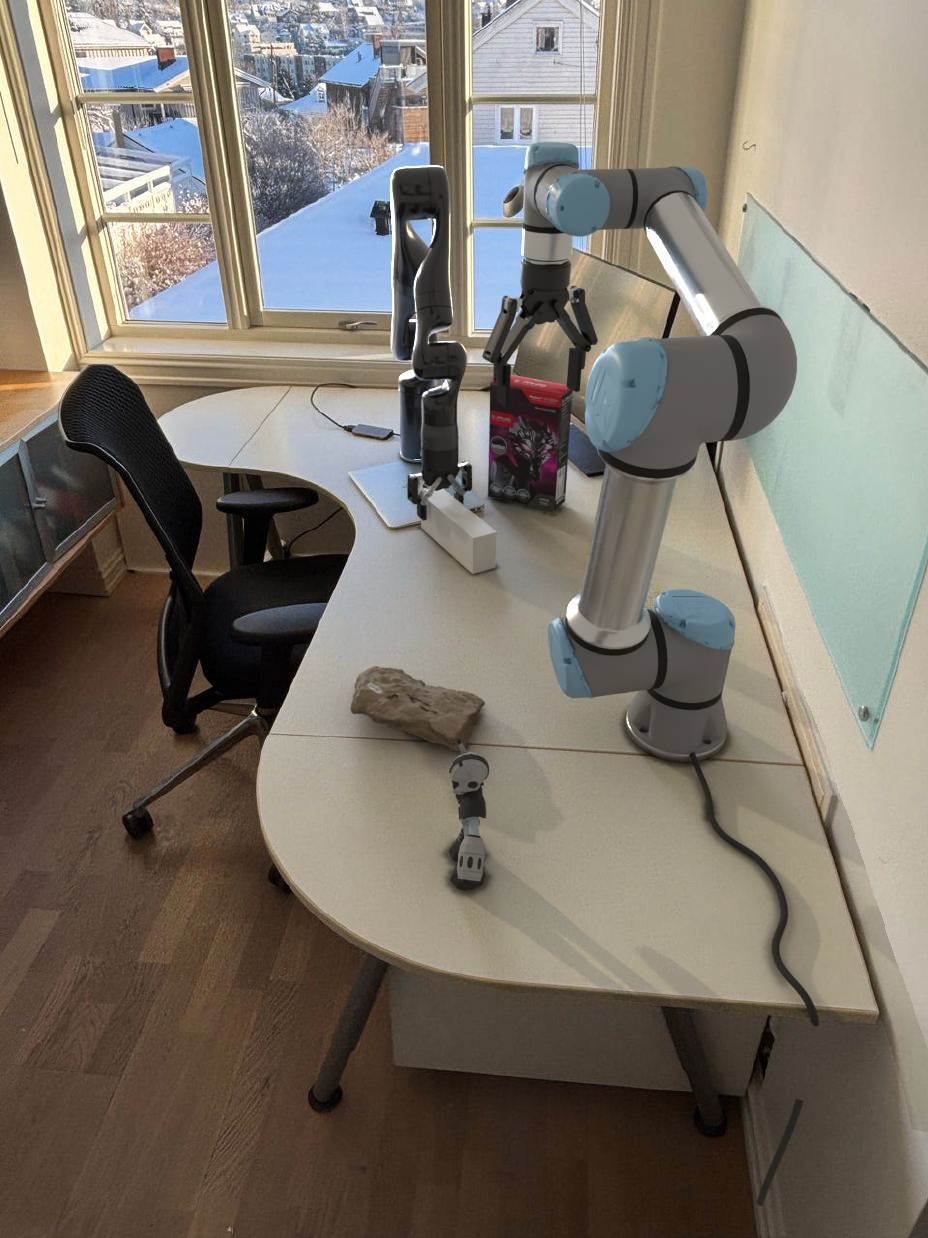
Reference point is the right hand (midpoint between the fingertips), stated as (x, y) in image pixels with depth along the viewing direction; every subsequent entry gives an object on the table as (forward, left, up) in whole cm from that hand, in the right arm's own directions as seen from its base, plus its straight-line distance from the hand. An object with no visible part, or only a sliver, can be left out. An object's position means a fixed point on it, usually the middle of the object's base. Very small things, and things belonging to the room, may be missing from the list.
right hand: (538, 396), depth 150 cm
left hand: (+23, +24, -36) cm, 49 cm away
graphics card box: (+43, +10, -41) cm, 60 cm away
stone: (-37, +10, -41) cm, 56 cm away
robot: (-63, -6, -41) cm, 75 cm away
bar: (+18, +19, -41) cm, 48 cm away
